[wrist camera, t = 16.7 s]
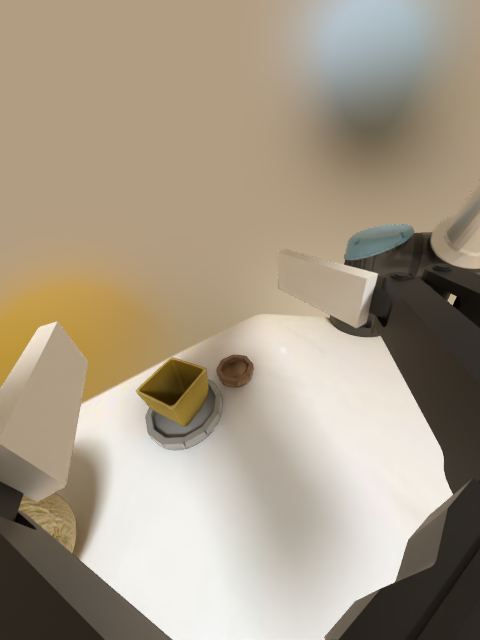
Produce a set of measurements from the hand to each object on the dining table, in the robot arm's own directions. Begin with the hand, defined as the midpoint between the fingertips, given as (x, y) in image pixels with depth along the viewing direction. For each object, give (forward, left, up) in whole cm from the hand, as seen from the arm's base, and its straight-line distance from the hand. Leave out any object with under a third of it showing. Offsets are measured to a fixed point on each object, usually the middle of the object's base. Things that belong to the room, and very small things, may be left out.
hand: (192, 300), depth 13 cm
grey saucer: (+4, -17, -30) cm, 35 cm away
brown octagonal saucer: (-8, -20, -30) cm, 37 cm away
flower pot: (+4, -17, -30) cm, 34 cm away
